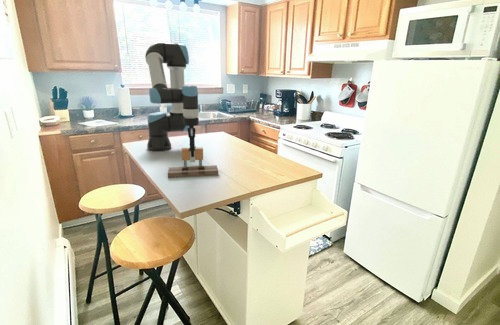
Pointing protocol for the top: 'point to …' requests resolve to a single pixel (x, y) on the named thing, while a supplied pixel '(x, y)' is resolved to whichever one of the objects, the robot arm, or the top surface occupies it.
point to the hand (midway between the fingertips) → (192, 160)
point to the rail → (192, 171)
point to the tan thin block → (197, 155)
